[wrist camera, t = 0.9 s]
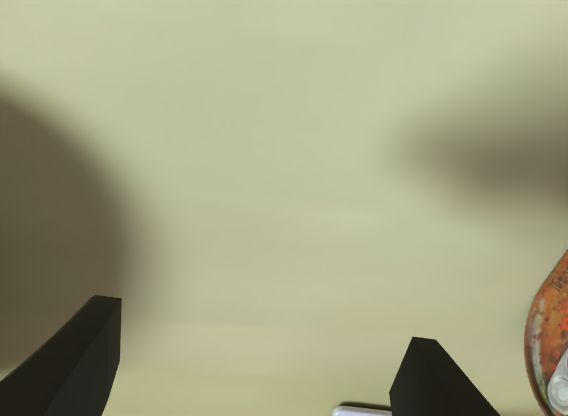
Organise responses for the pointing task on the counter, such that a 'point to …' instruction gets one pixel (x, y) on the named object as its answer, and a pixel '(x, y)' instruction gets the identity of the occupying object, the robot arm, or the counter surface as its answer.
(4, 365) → the counter surface
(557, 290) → the tin
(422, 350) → the robot arm
